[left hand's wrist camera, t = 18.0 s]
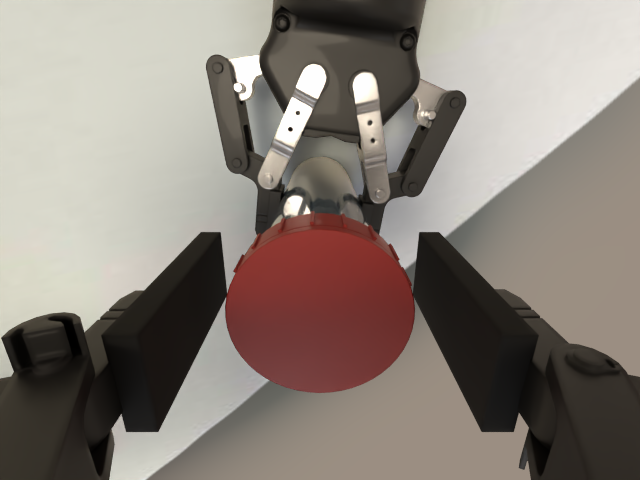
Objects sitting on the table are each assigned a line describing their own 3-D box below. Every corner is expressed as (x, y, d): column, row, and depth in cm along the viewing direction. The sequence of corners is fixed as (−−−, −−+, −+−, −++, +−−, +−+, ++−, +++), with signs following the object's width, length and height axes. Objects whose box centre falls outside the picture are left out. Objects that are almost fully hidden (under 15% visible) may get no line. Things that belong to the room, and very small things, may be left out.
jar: (291, 217, 28) (251, 368, 12) (287, 157, 27) (235, 235, 10) (350, 215, 28) (393, 363, 12) (350, 155, 27) (399, 229, 10)
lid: (440, 279, 12) (459, 304, 10) (333, 385, 13) (334, 422, 12) (304, 172, 10) (301, 184, 9) (203, 304, 12) (186, 333, 10)
